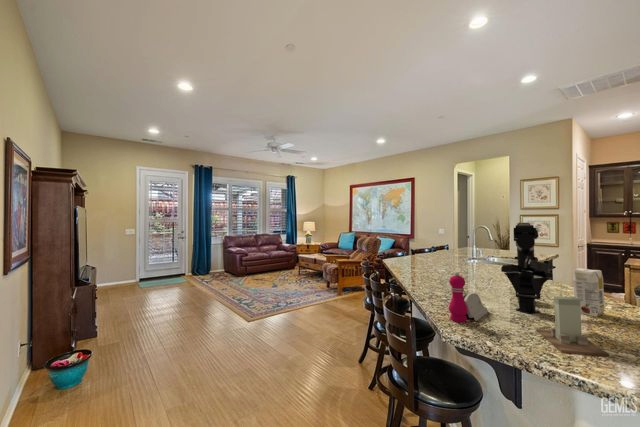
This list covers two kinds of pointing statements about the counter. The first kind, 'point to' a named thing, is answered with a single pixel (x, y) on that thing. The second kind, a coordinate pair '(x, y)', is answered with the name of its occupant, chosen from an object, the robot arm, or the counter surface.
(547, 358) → the counter surface
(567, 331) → the door
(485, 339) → the counter surface
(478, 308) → the grey rounded slab
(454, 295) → the pepper mill
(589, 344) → the plate
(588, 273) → the juice carton
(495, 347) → the counter surface
